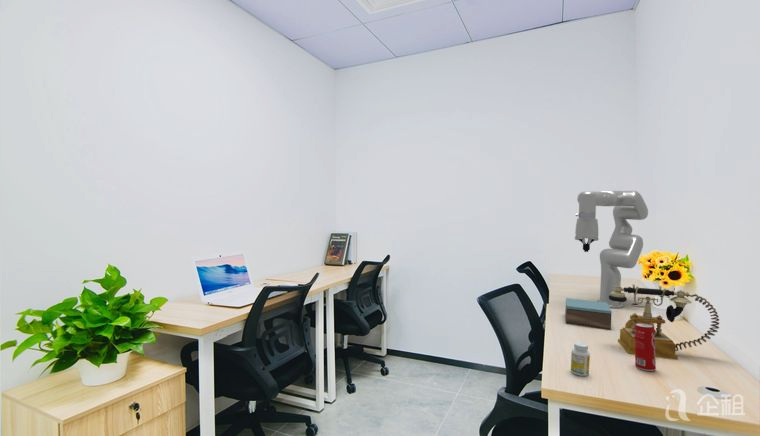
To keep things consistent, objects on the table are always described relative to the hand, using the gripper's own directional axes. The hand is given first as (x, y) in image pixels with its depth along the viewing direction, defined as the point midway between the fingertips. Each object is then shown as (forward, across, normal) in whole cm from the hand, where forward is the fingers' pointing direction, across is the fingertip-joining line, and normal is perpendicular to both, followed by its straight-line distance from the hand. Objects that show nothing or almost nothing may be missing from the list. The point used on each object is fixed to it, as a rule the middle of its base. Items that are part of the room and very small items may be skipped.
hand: (586, 251), depth 194 cm
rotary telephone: (+31, +21, -44) cm, 58 cm away
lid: (+24, 0, -18) cm, 30 cm away
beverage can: (+31, +13, -67) cm, 75 cm away
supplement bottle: (+30, -8, -81) cm, 87 cm away
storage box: (+31, 0, -18) cm, 36 cm away
